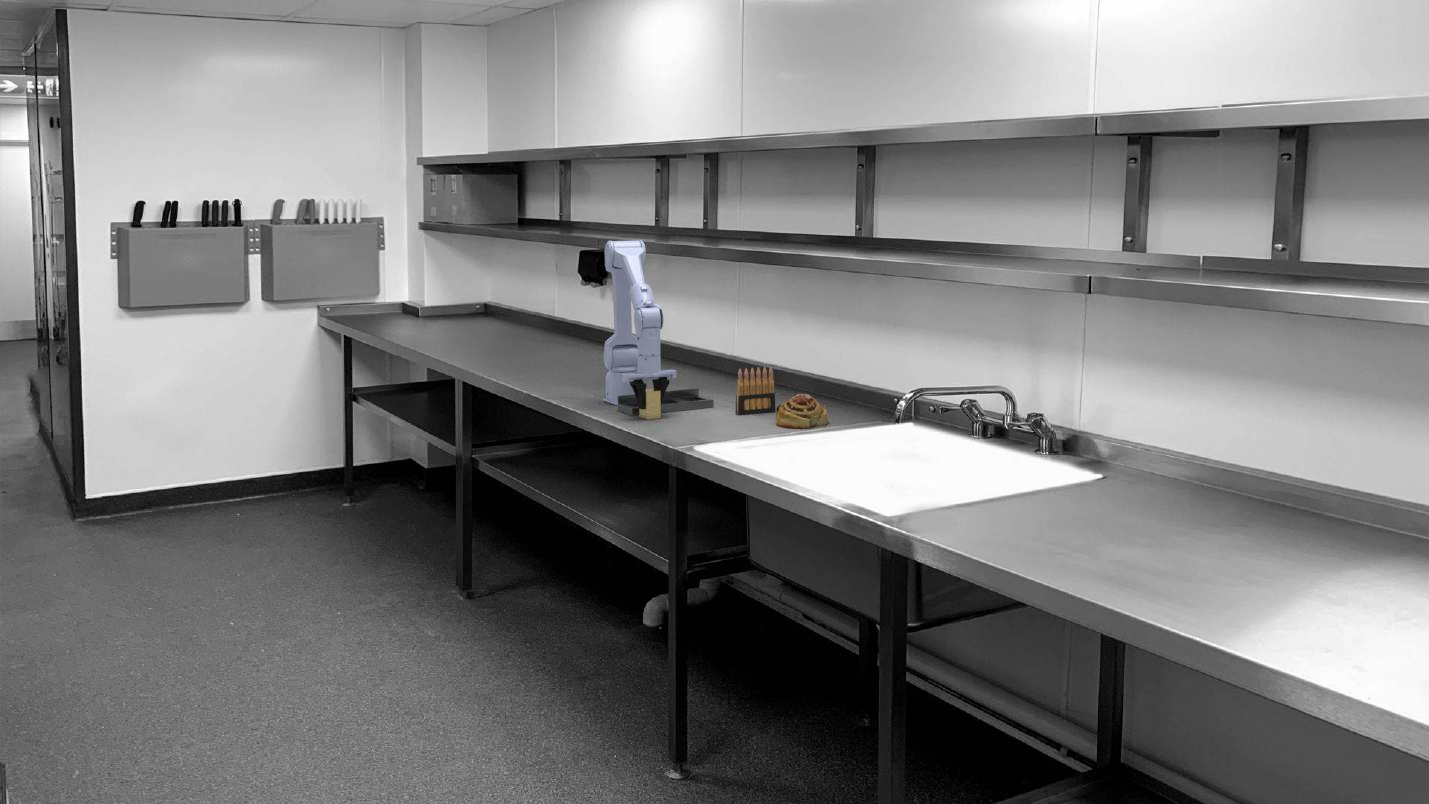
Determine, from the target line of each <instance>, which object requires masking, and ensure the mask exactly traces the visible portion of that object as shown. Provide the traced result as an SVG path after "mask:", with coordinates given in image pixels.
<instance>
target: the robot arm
mask: <svg viewBox="0 0 1429 804" xmlns="http://www.w3.org/2000/svg"><path fill="white" fill-rule="evenodd" d="M646 248H647V247H646V245H645V243H644V241H643V240H641V239H638V240H615V241H614V240H607V242H606V244H605V246H604V267H605V271H606V272H608V273H611V278H612V279H611V280H612V303H613V325H614V327H613V329H614V332H613V334H612V335H611V336H610V337H609V338H608V339H607V340H605V342H604V351H603V363H604V366H605V368H606V370H608V371H607V373H606V375H605V398H603V399H602V401H603V402H606V403H609V404H612V405H615V406H618V398H617V396H622V395H632V394H635V396H636V399H637V402H638V406H639V409H642V410H643V409H645V392H646V389H647V385H648V384H647V383H645V381H652V386H653V389H656V390H660V401H661V404H662V400H663V397H664V394H665V391H667V389H668V387H669V385H670V379H676V378H677V370H675V369H662V367H661V361H662V360H661V330H662V329H663V327H664V312H663V309H662V307H661V306H660V305H659V303H656V299H655V296H654V293H653V290H652V287H651V285H649V284H647V283H646V281H645V280H646V279H645V275H644V271H643V266H644V263H645V260H646V257H647V250H646ZM632 307H633V308H632ZM632 309H633V311H634V312H633V313H634V314H633V318H632ZM632 319H633V322H632ZM633 324H634V329H635V335H634V334H633Z"/></svg>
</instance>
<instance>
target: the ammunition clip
mask: <svg viewBox="0 0 1429 804" xmlns="http://www.w3.org/2000/svg"><path fill="white" fill-rule="evenodd" d="M749 375H750V376H749ZM776 408H777V407H776V392H775V380H774V370H773V366H770V367H769V370H768V371H767V368H766V366H764V367H763V370H762V375H761V368H760V367H759V366H758V367H757V368H756V373H755V369H754V367H751V369H750V374H749V371H748V368H747V367H745V369H744V373H743V372H742V369H741V368H739V369H738V372H737V383H736V395H735V415H737V416H746V415H748V416H749V415H759V414H768V413H769V414H770V413H771V414H772V413H777V411H776Z"/></svg>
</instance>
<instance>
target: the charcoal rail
mask: <svg viewBox="0 0 1429 804" xmlns="http://www.w3.org/2000/svg"><path fill="white" fill-rule="evenodd" d="M617 398H618V405H617V411H618V412H620V413H623V414H626V415H628V416H631V417H635V416H636V417H637V416H639V406H638V402H637V399H636V396H635V394H632V395H622V396H617ZM714 404H715V403H714V399H712V398H708V397H704V396H702V395H699V387H694V388H684V389H683V388H682V389H674V390H666V391H665V394H664V397H663V400H662V404H661V414H665V413H673V412H674V413H675V412H680V411H684V412H685V411H692V410H701V409H710V408H714V407H715V406H714Z"/></svg>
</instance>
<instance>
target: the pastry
mask: <svg viewBox="0 0 1429 804" xmlns="http://www.w3.org/2000/svg"><path fill="white" fill-rule="evenodd" d="M775 408H776V412H775V413H776V415H775V421H776V422H775V425H776V426H777V427H779V428H782V429H791V430H808V429H807V428H809V429H810V428H817V427H818V428H819V427H823V426H826V425H828V424H829V415H828V410H827V406H826V405H825V404H822V405H821V403H819V402H818V401H817V399H815V398H814V397H813V396H811V395H810V394H808V393H799V394H796V395H795V396H792V397H791V398H788V400H786V401H785V402H783V403H782V404H779V405H777V406H776V407H775ZM804 428H805V429H804Z"/></svg>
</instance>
